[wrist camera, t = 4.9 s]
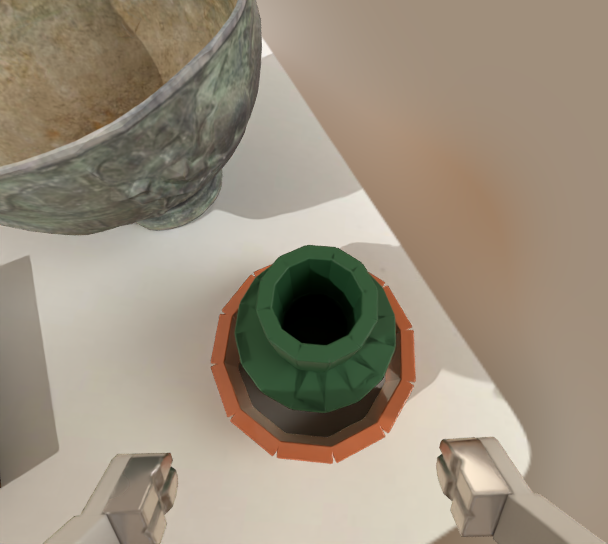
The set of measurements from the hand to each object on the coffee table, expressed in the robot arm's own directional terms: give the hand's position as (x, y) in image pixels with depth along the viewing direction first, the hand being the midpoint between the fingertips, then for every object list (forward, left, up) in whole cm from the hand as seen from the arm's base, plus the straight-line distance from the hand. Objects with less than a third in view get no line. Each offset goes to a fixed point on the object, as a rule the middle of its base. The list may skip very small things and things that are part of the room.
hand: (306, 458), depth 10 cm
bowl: (+18, +14, -12) cm, 25 cm away
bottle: (+4, 0, -12) cm, 12 cm away
